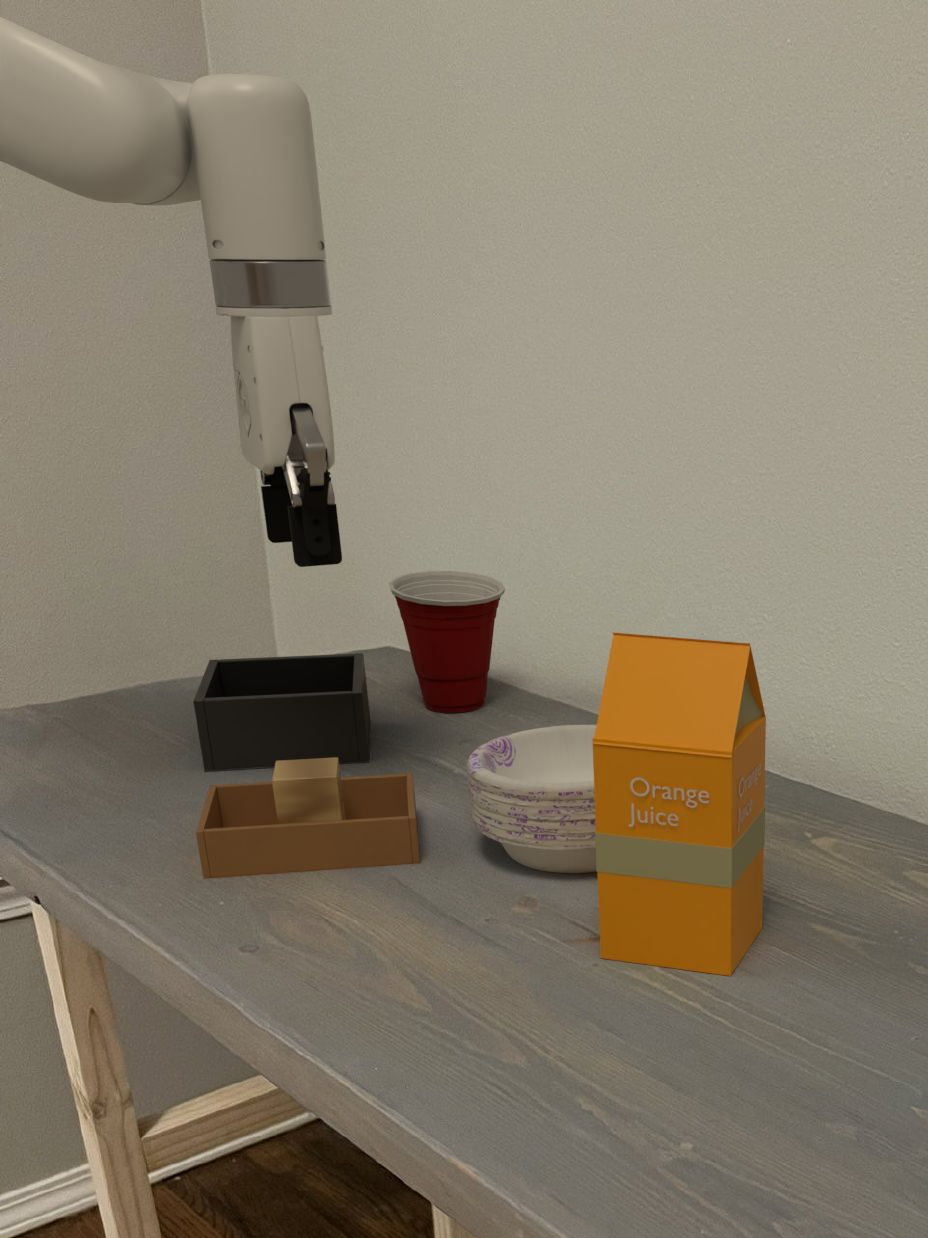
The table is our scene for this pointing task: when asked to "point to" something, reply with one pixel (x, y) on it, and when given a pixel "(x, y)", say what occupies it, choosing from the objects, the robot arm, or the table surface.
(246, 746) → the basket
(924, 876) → the table surface
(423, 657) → the plastic cup
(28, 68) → the robot arm
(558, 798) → the paper bowls
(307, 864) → the box
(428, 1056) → the table surface
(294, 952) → the table surface
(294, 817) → the block
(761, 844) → the orange juice
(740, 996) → the table surface
